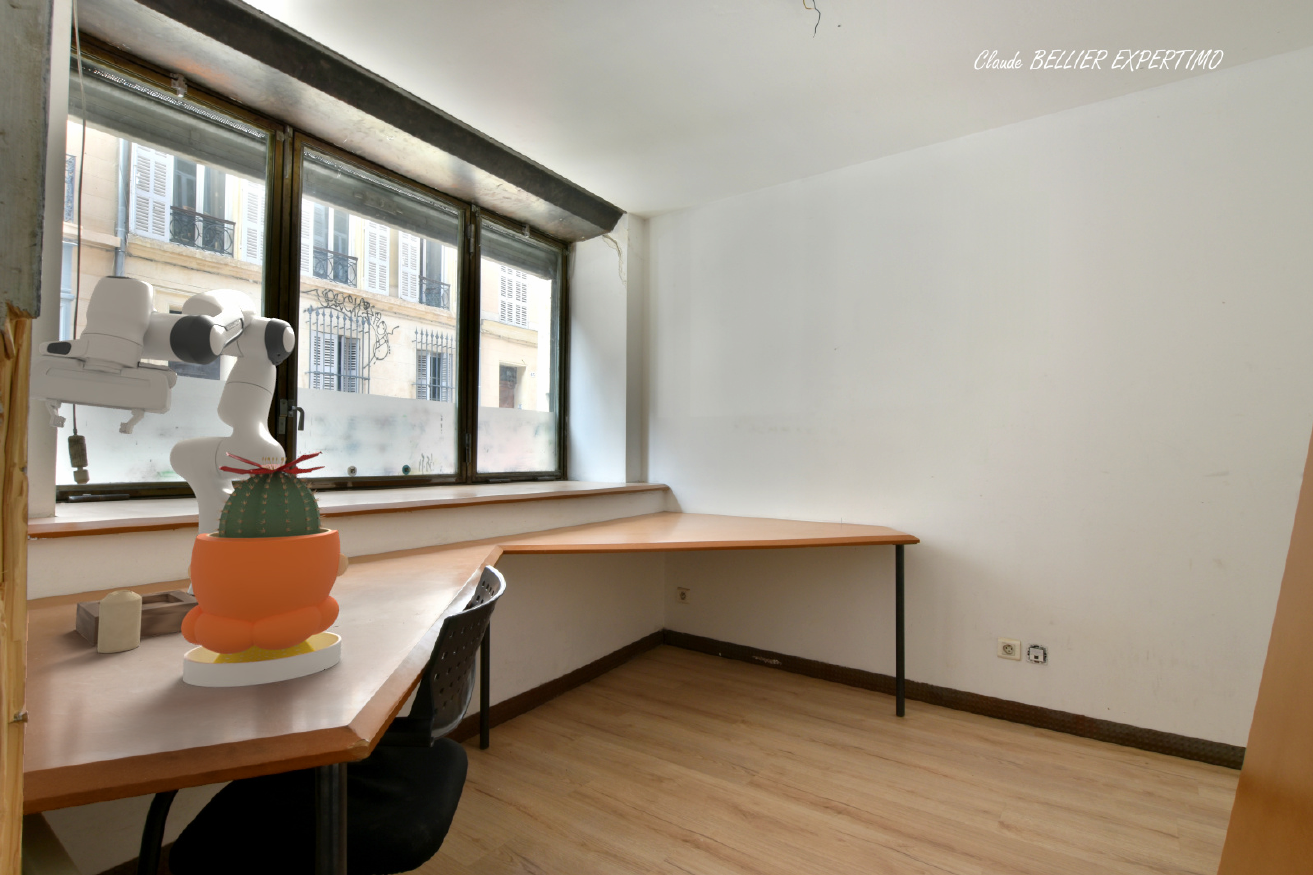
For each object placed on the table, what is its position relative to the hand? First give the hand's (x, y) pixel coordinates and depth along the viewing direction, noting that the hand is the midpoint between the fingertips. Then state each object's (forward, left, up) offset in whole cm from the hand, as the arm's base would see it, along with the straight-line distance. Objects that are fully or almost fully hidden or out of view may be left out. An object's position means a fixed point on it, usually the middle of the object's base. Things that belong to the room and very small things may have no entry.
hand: (91, 430), depth 107 cm
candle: (-4, +7, -39) cm, 39 cm away
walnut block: (-10, -7, -39) cm, 40 cm away
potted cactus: (-16, +38, -39) cm, 57 cm away
